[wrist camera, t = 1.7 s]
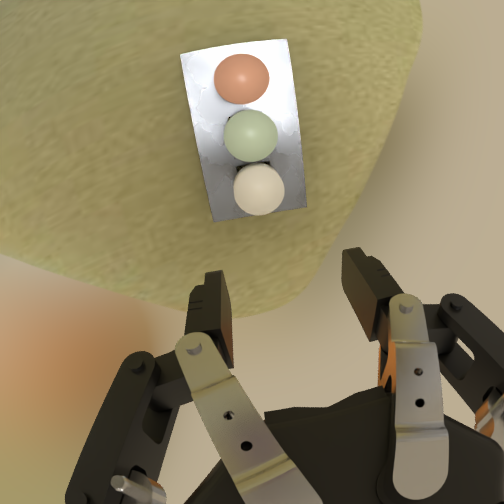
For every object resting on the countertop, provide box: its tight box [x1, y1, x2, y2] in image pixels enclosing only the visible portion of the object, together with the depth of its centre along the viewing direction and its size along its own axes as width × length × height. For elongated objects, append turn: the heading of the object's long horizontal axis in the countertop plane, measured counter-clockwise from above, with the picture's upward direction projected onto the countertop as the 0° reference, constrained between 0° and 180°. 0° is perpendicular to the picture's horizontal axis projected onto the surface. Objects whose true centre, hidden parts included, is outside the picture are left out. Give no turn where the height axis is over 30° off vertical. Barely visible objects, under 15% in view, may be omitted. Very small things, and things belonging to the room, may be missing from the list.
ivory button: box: [233, 163, 285, 215], centre depth 24 cm, size 4×4×4 cm
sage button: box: [224, 109, 278, 162], centre depth 22 cm, size 4×4×4 cm
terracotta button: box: [214, 53, 270, 104], centre depth 20 cm, size 4×4×4 cm
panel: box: [180, 39, 307, 222], centre depth 24 cm, size 16×9×2 cm, turn 8°
